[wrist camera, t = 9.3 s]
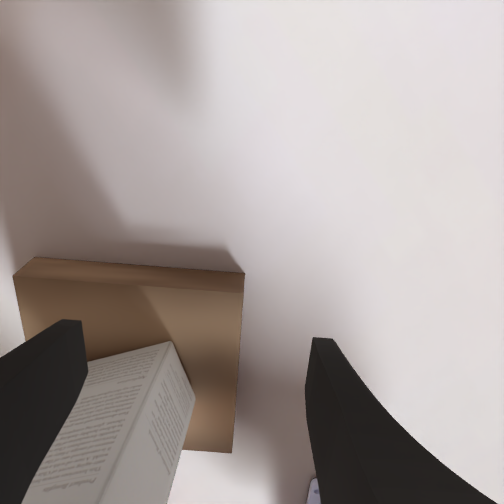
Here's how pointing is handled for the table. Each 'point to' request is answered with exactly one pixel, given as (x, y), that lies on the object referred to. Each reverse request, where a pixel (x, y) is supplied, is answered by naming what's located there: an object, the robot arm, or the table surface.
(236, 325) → the walnut block
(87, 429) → the skincare box
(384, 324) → the table surface
